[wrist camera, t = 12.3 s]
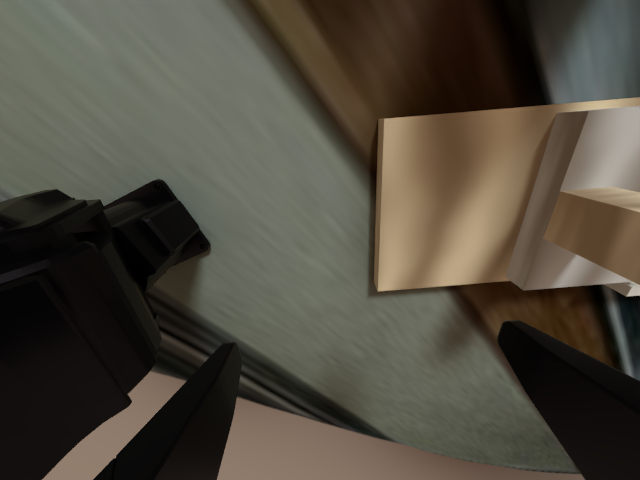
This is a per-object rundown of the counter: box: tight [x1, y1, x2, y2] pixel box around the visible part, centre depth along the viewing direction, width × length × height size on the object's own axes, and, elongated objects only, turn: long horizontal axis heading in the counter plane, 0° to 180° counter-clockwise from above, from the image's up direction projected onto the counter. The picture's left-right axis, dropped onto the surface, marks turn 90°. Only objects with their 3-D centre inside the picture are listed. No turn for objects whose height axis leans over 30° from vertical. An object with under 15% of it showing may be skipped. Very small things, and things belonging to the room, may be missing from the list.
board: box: [374, 97, 640, 291], centre depth 19 cm, size 21×14×2 cm, turn 94°
